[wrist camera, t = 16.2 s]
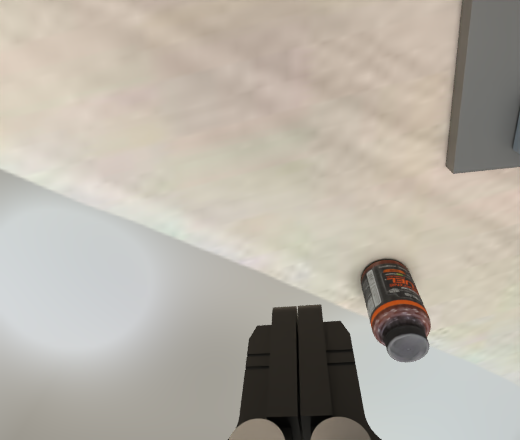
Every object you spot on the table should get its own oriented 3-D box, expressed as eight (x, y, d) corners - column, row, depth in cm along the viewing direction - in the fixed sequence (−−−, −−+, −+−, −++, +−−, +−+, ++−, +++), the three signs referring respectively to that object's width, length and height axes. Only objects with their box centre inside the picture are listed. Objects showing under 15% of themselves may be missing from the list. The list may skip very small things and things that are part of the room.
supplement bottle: (416, 262, 45) (452, 333, 35) (399, 299, 48) (427, 374, 38) (368, 253, 45) (390, 322, 35) (353, 290, 48) (369, 364, 38)
